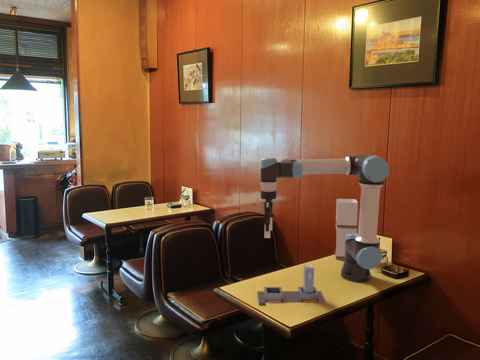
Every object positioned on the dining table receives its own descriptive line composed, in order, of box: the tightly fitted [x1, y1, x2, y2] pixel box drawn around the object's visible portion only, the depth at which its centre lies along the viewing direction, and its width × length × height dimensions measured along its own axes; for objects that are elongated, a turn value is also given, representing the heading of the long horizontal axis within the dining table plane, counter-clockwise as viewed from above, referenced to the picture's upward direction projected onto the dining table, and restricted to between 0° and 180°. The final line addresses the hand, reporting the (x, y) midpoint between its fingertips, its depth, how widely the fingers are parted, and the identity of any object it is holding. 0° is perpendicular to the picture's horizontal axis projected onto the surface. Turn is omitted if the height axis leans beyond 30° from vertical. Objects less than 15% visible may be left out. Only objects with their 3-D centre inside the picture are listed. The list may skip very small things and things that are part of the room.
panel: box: [257, 286, 327, 306], centre depth 177 cm, size 30×12×4 cm, turn 90°
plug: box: [302, 264, 315, 293], centre depth 175 cm, size 4×6×15 cm
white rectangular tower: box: [334, 198, 359, 261], centre depth 233 cm, size 11×11×35 cm
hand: (268, 234), depth 186 cm, fingers open, 13 cm apart
